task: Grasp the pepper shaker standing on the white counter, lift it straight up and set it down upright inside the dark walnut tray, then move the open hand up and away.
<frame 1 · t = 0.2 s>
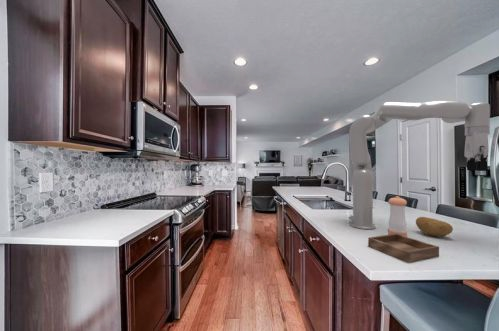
hand: (476, 170, 94), 31 cm above the countertop, tool pointing down, fingers open, 9 cm apart
pepper shaker: (397, 238, 98), on the countertop
walnut tray: (401, 251, 83), on the countertop
potato: (433, 236, 102), on the countertop
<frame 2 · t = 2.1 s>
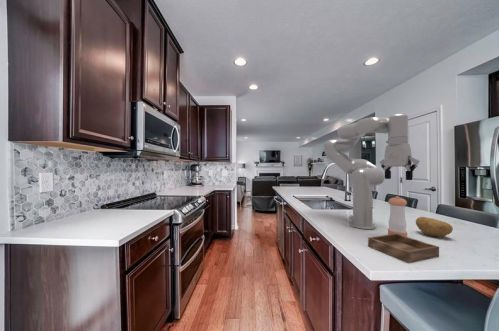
hand: (397, 179, 98), 27 cm above the countertop, tool pointing down, fingers open, 9 cm apart
nothing on the countertop moved.
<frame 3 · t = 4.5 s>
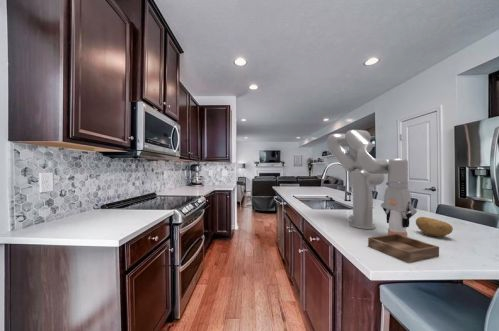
hand: (397, 224, 98), 6 cm above the countertop, tool pointing down, fingers closed on pepper shaker, 6 cm apart
pepper shaker: (397, 238, 98), on the countertop, touching gripper
everything else where it was.
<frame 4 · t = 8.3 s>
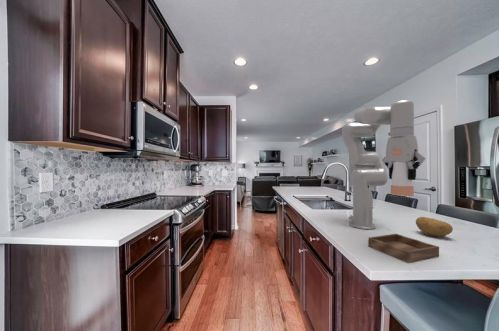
hand: (401, 178, 84), 28 cm above the countertop, tool pointing down, fingers closed on pepper shaker, 6 cm apart
pepper shaker: (401, 195, 84), point 21 cm above the countertop, touching gripper
everything else where it was.
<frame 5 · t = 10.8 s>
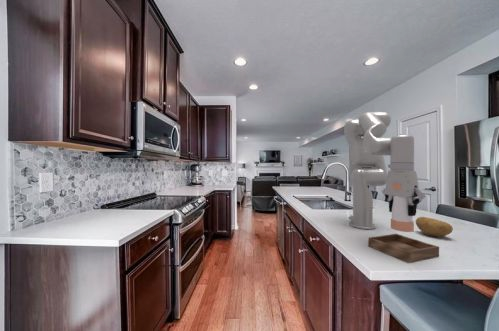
hand: (401, 213, 83), 15 cm above the countertop, tool pointing down, fingers closed on pepper shaker, 6 cm apart
pepper shaker: (401, 229, 83), point 8 cm above the countertop, touching gripper
everything else where it was.
when the fingers open (8 cm above the countertop, at t = 12.6 s): pepper shaker drops 1 cm, resting on walnut tray.
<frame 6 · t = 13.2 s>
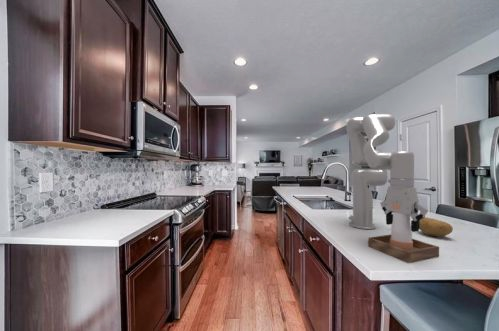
hand: (401, 227, 83), 9 cm above the countertop, tool pointing down, fingers open, 9 cm apart
pepper shaker: (401, 249, 83), point 1 cm above the countertop, touching walnut tray
everything else where it was.
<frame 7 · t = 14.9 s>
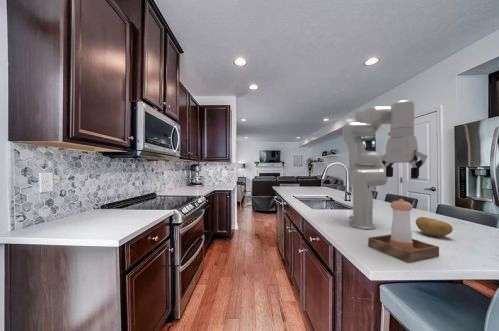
hand: (401, 177, 83), 28 cm above the countertop, tool pointing down, fingers open, 9 cm apart
nothing on the countertop moved.
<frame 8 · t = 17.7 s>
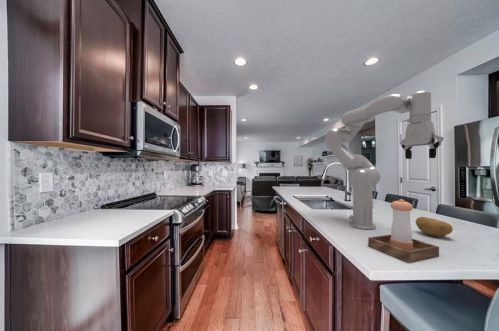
hand: (419, 158, 95), 36 cm above the countertop, tool pointing down, fingers open, 9 cm apart
nothing on the countertop moved.
at the end: pepper shaker inside the target area on the walnut tray (0.2 cm from its centre), point 0.6 cm above the walnut tray's base; pepper shaker tilted 0°; the gripper is holding nothing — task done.
